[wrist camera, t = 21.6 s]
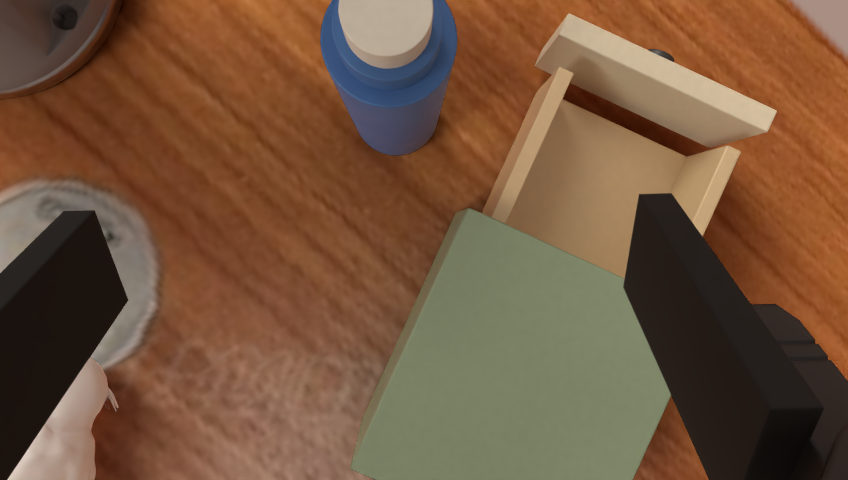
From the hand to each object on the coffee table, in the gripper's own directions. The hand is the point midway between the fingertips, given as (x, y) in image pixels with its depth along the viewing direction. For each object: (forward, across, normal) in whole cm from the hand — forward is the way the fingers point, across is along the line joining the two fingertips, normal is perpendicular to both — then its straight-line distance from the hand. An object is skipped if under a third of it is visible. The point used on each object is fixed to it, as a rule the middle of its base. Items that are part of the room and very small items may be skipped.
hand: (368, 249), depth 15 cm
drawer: (+19, +11, -8) cm, 24 cm away
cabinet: (+14, +5, -18) cm, 23 cm away
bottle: (+22, -1, -5) cm, 22 cm away
